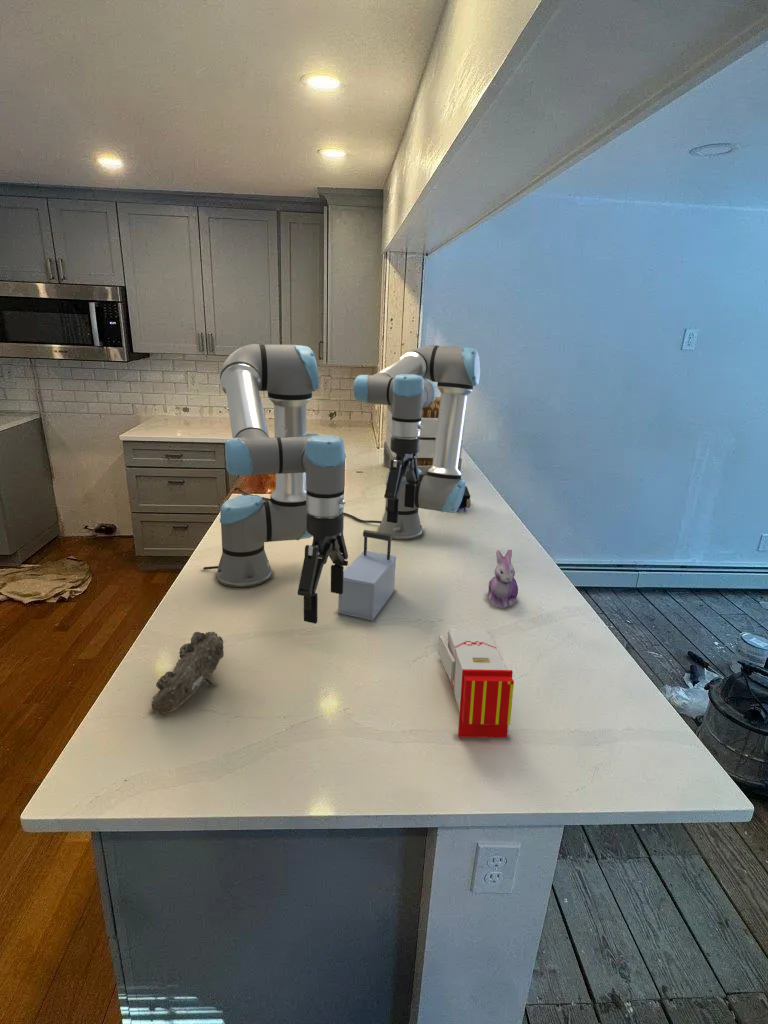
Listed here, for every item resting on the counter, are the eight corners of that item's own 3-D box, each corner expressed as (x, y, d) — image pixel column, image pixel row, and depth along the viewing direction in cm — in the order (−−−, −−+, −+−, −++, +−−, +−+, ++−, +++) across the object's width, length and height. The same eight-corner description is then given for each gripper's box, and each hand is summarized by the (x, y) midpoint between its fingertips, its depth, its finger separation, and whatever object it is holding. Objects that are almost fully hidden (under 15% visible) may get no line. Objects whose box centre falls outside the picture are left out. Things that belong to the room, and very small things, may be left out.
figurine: (500, 612, 150) (506, 561, 145) (477, 595, 159) (482, 546, 153) (527, 605, 154) (535, 555, 149) (504, 589, 163) (510, 541, 158)
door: (364, 553, 159) (365, 525, 157) (396, 559, 157) (397, 531, 154) (338, 579, 143) (339, 549, 141) (374, 586, 141) (375, 556, 138)
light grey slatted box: (382, 463, 289) (386, 382, 275) (445, 464, 293) (451, 384, 279) (390, 482, 257) (394, 392, 243) (460, 483, 261) (468, 394, 247)
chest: (362, 584, 162) (363, 553, 159) (394, 590, 160) (395, 559, 156) (338, 613, 147) (338, 579, 143) (372, 620, 144) (374, 586, 141)
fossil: (177, 634, 126) (224, 603, 121) (207, 662, 129) (255, 633, 124) (129, 707, 107) (182, 674, 102) (165, 739, 110) (219, 708, 105)
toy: (488, 613, 130) (523, 677, 101) (484, 667, 133) (517, 744, 104) (435, 612, 130) (455, 676, 101) (432, 666, 133) (451, 743, 103)
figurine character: (470, 516, 223) (465, 500, 237) (473, 499, 220) (467, 484, 233) (453, 516, 223) (449, 500, 236) (455, 498, 220) (451, 483, 233)
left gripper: (315, 537, 102) (315, 639, 109) (364, 498, 124) (361, 585, 131) (278, 531, 104) (280, 631, 111) (332, 493, 127) (331, 579, 134)
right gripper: (402, 447, 133) (398, 531, 141) (433, 430, 155) (428, 503, 163) (373, 444, 136) (370, 526, 143) (407, 427, 158) (403, 499, 165)
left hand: (324, 606), depth 121 cm, fingers open, 13 cm apart
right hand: (400, 514), depth 153 cm, fingers open, 13 cm apart
